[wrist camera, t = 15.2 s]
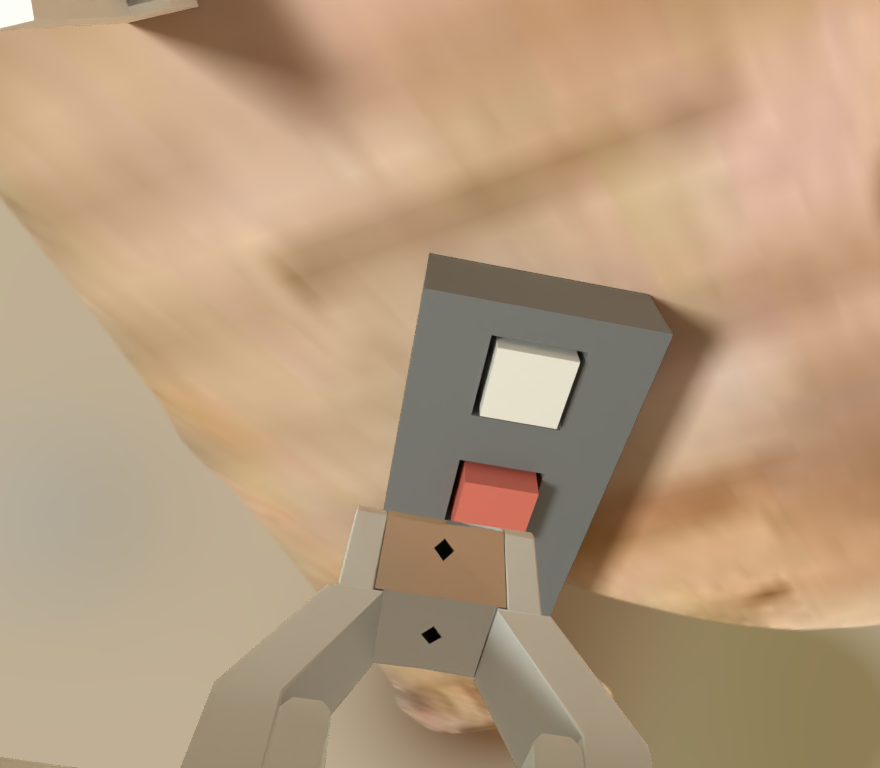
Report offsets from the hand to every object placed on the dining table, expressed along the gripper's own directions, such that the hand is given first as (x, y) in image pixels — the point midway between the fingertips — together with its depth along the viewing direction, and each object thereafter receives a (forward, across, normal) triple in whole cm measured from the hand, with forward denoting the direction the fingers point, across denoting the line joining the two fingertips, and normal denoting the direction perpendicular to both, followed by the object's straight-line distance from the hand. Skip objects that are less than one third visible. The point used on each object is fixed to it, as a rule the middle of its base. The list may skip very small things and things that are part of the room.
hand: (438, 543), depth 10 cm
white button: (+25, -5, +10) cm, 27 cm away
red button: (+24, -5, +18) cm, 30 cm away
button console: (+26, -5, +18) cm, 32 cm away
